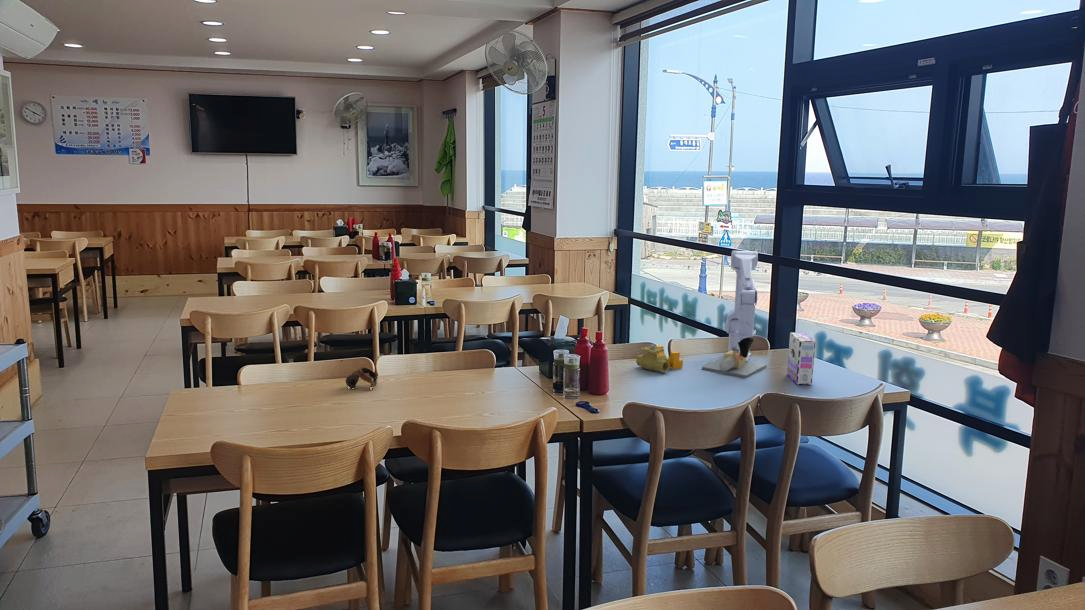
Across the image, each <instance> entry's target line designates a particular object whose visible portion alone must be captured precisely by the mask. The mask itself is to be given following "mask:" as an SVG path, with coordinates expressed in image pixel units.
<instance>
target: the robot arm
mask: <svg viewBox="0 0 1085 610" xmlns="http://www.w3.org/2000/svg"><path fill="white" fill-rule="evenodd" d="M758 257H759V254H758V251H757V250H755V251H753V250H751V251H749V250H733V249H732V251H731V256H730V269H731V270H733V271H735V273H736V278H735V279H736V280H735V295H734V309H733V310H731V311H730V312H729V313H728V314H726V322H725V332H726V333H727V334H728V347H727V352H729V351H731V350H732V347H737V348H739V352H740V353H741V354H742V356H743V357H744V358H746V357H747V356H748V353H749V354H750V356H752V353H751V352H750V350H751V349H750V348H751V346H752V344H753V342H754V340H755V339H754V338H753V337H754V336H756V335H757V330H756V329H754V328H755V315H756V313H755V312H756V306H757V304H758V290H757V288H756V284H755V283H756V282H755V278H754V277H753V276H752V271H754V270H755V269H756V268H757V266H758V262H759V258H758ZM724 356H725V353H724V354H723V357H724Z"/></svg>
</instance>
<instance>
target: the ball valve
mask: <svg viewBox="0 0 1085 610" xmlns="http://www.w3.org/2000/svg"><path fill="white" fill-rule="evenodd" d="M655 346H656V345H655V344H650V345H649V346H645V347H641V348H640V352H641V351H642V352H647V353H644V354H643V353H640V354H639V355H636V356H637V357H636V360H635V363H636V364H637V366H639V367H641V368H642V369H644V370H645V369H646V370H650V371H653V372H654V371H659V372H662V373H667V372H669V369H670V368H669V366H670V365H669V362H668V361H667V358H668V357H667V356H666V354H665V355H663V354H660V355H656V353H658V352H662V351H664V352H665V348H664V347H663V348H656V347H655Z"/></svg>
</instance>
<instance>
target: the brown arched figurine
mask: <svg viewBox="0 0 1085 610" xmlns="http://www.w3.org/2000/svg"><path fill="white" fill-rule="evenodd" d="M367 374H368V375H367ZM360 380H362V381H364V382H367V383H368V384H370V385H369V388H370V387H374V386H375V387H377V384H378V382H377V381H378V375H377V373H376V372H374V371H373V370H371V369H369V368H368V367H363V366H360V367H359V368H358V369H357V370H355V371H353V372H352V374H349V375H348V376H347V377H346V379H345V384H346V386H349V387H350V388H355V389H356V386H357V384H358V382H359V381H360ZM375 387H374V388H375Z"/></svg>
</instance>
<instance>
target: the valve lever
mask: <svg viewBox="0 0 1085 610" xmlns="http://www.w3.org/2000/svg"><path fill="white" fill-rule="evenodd" d="M732 351H734V353H735V357H736V360H743V356H742V354H741V353H740V352H739V348H737V347H732Z"/></svg>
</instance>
